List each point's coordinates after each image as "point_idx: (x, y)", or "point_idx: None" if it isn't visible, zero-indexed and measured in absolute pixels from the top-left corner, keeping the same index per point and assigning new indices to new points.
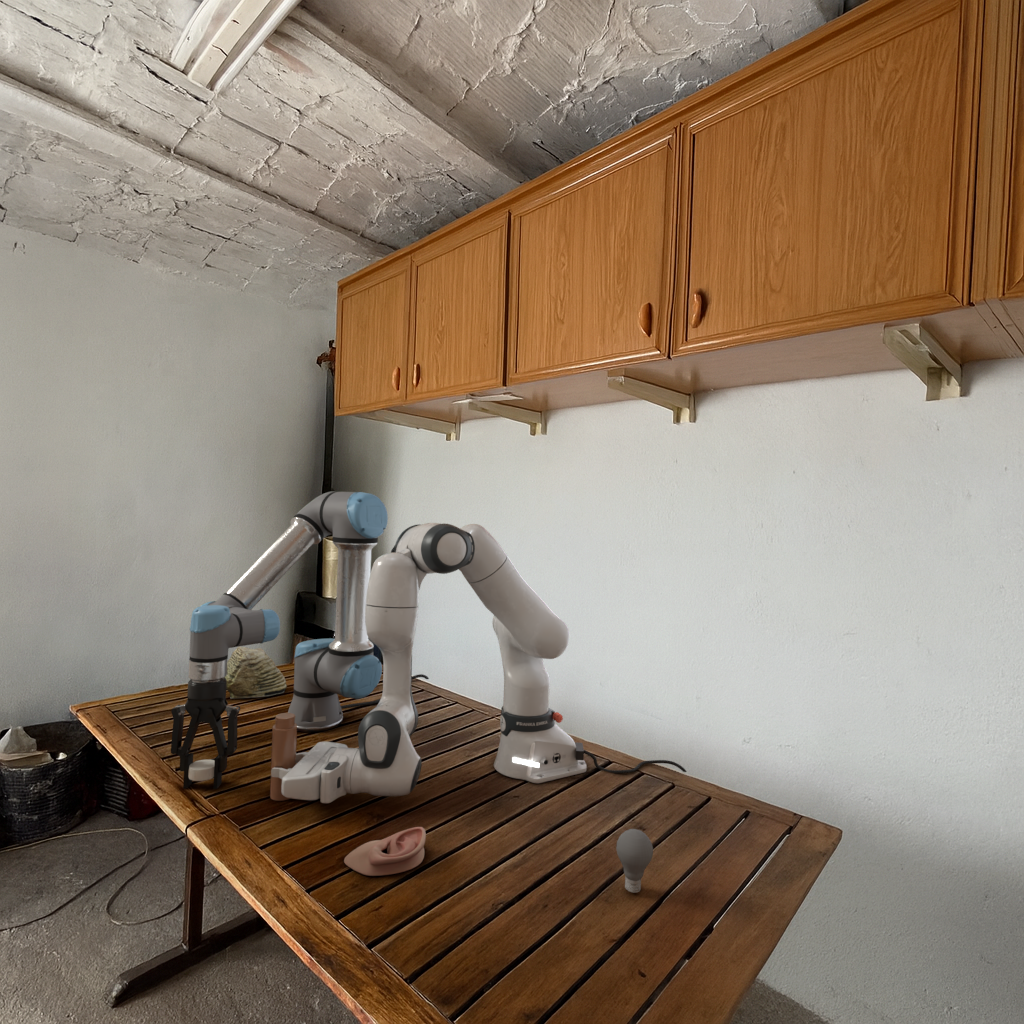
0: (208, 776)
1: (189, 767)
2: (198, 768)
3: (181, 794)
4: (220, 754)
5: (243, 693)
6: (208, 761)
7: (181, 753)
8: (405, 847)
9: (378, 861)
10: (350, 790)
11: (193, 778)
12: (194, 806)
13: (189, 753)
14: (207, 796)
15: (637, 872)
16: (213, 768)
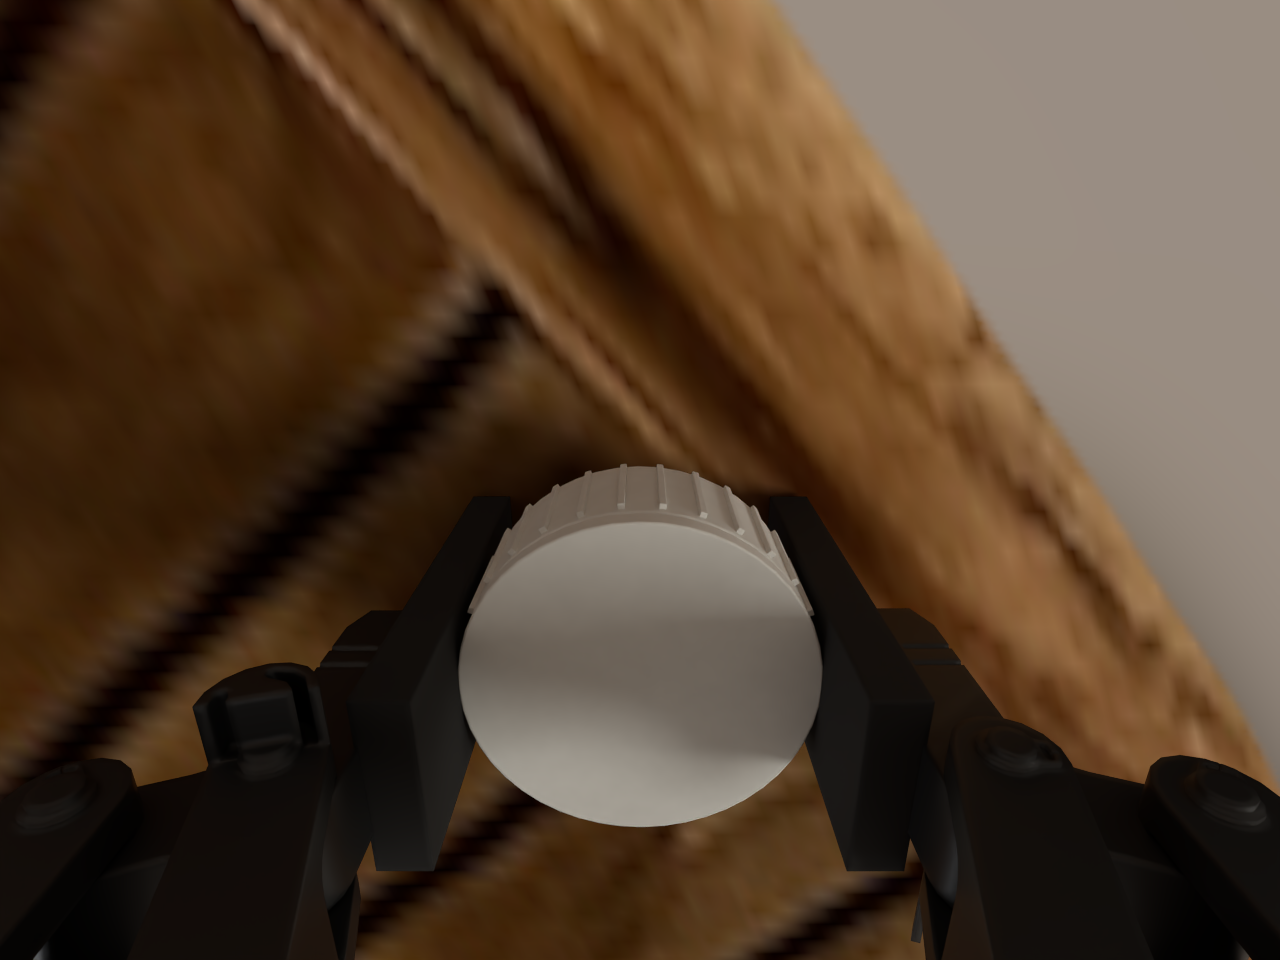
0: (524, 518)
1: (801, 603)
2: (658, 568)
3: (782, 378)
4: (279, 759)
5: None
6: (611, 774)
7: (1038, 769)
8: None
9: None
10: None
11: (697, 478)
12: (533, 76)
13: (904, 857)
14: (496, 331)
15: None
16: (473, 613)
